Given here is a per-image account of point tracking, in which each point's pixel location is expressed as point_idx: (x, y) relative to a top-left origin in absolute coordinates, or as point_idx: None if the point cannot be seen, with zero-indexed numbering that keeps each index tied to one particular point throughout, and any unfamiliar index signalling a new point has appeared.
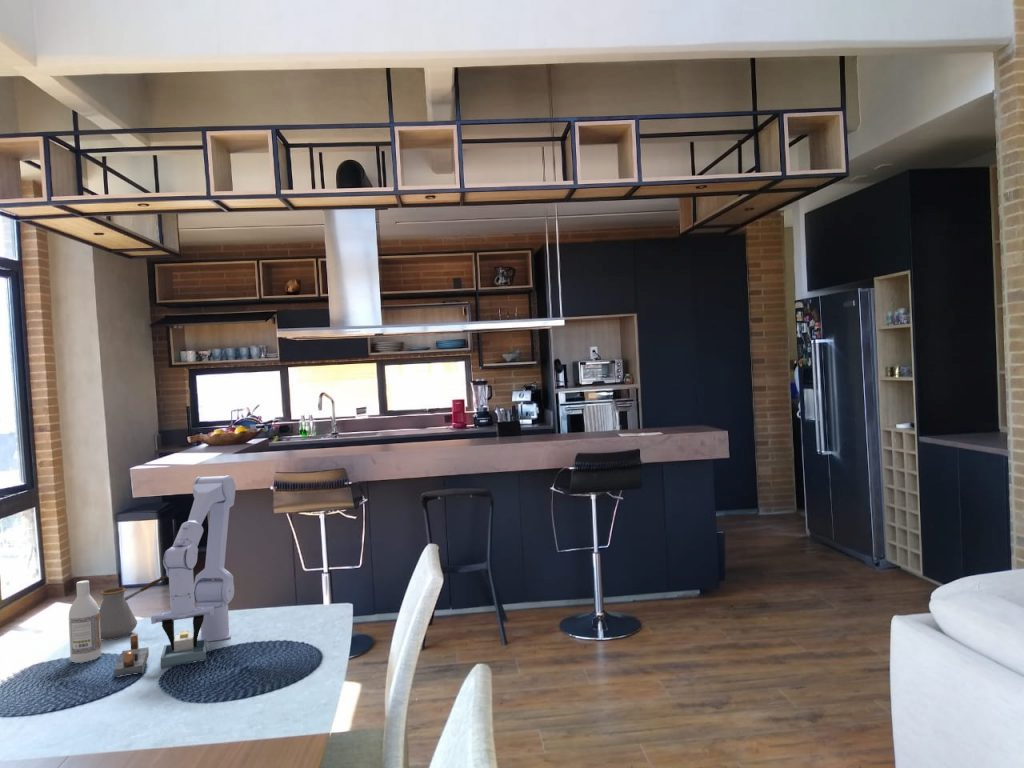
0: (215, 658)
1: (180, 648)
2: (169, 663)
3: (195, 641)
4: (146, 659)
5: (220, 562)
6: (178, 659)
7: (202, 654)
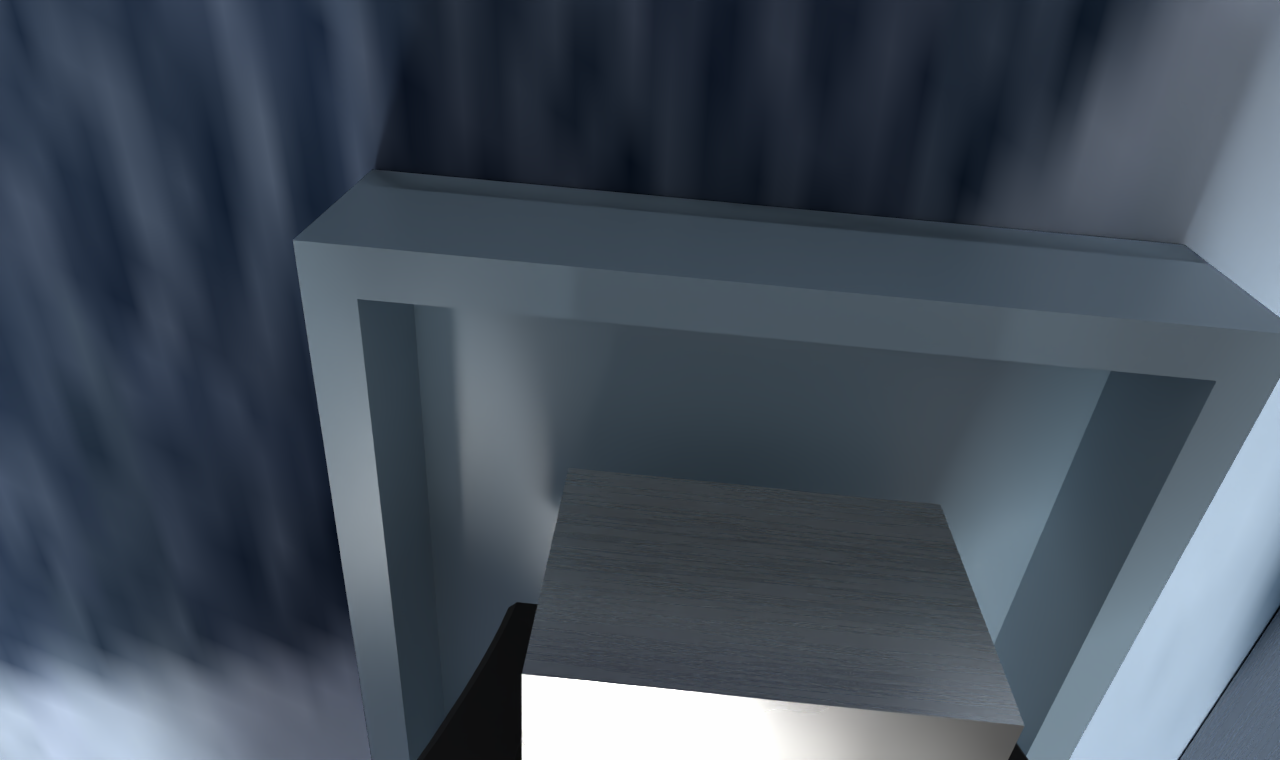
0: (220, 240)
1: (827, 556)
2: (1054, 256)
3: (498, 678)
4: (1247, 707)
5: None
6: (887, 259)
7: (381, 221)
